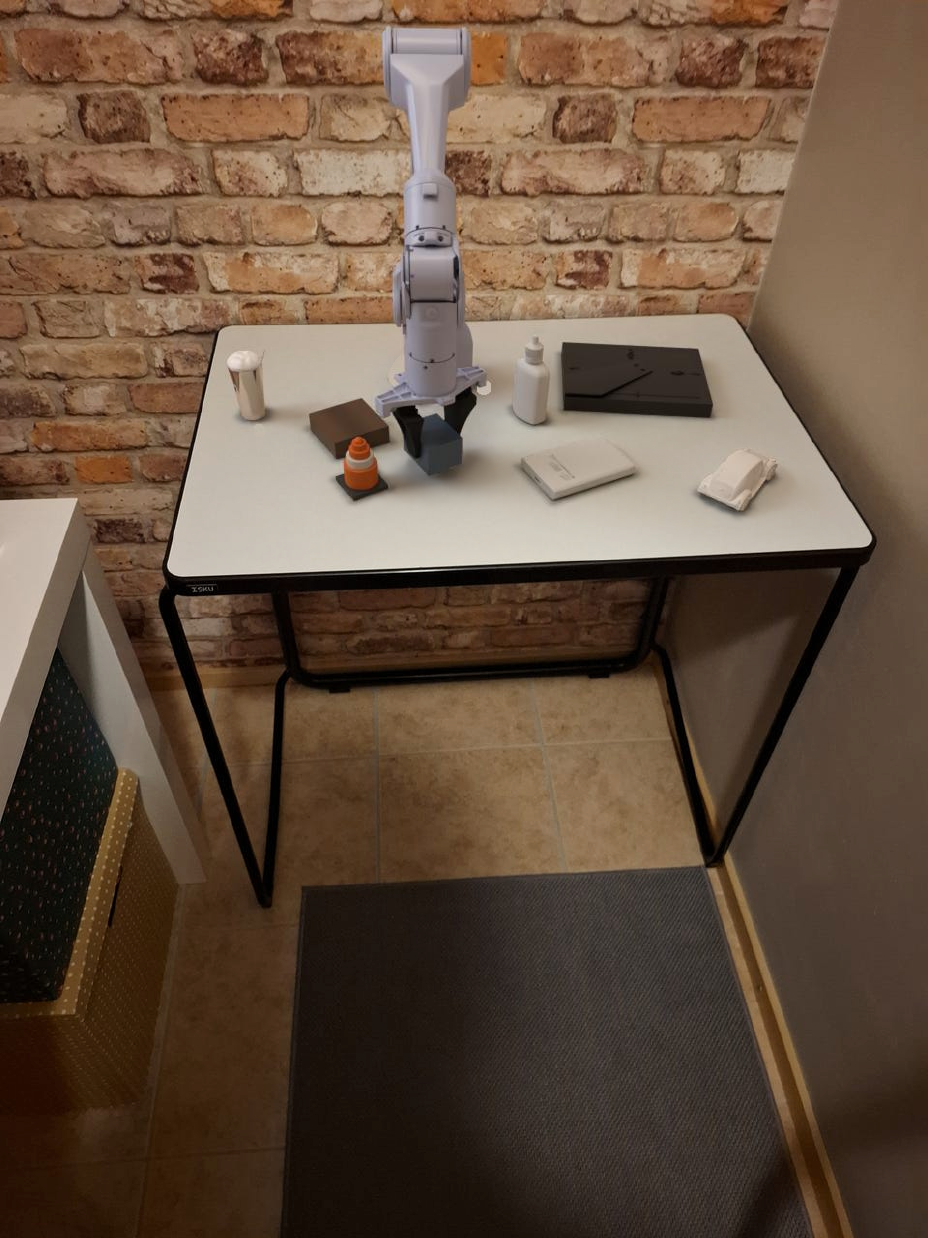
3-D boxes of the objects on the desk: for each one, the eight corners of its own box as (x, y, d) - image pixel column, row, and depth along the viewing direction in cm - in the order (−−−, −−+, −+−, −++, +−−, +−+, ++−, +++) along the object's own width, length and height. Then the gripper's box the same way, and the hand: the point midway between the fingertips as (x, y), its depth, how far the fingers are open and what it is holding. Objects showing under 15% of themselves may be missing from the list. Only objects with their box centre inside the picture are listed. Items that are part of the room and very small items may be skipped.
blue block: (436, 438, 113) (436, 412, 110) (462, 464, 109) (463, 437, 107) (403, 449, 111) (402, 423, 108) (428, 476, 108) (428, 449, 105)
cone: (370, 468, 111) (367, 421, 106) (388, 488, 108) (386, 441, 103) (335, 479, 109) (330, 433, 104) (353, 500, 106) (349, 454, 101)
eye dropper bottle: (541, 403, 123) (549, 325, 114) (546, 425, 119) (554, 346, 110) (511, 404, 122) (516, 325, 114) (515, 426, 119) (521, 346, 110)
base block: (362, 413, 120) (361, 397, 118) (389, 441, 115) (389, 425, 114) (310, 429, 117) (308, 413, 115) (336, 459, 112) (334, 443, 111)
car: (736, 518, 106) (746, 487, 102) (692, 497, 108) (700, 467, 105) (780, 474, 112) (790, 444, 109) (737, 455, 115) (746, 426, 111)
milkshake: (269, 426, 117) (257, 359, 110) (232, 421, 118) (218, 354, 111) (280, 408, 120) (270, 342, 113) (244, 403, 121) (232, 337, 114)
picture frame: (563, 409, 122) (709, 417, 121) (565, 392, 120) (714, 399, 119) (561, 354, 132) (695, 360, 132) (562, 337, 130) (699, 343, 130)
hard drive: (634, 475, 111) (553, 501, 107) (598, 442, 116) (520, 466, 112) (636, 465, 110) (554, 491, 106) (600, 432, 115) (521, 456, 111)
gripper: (393, 382, 94) (397, 481, 104) (502, 349, 100) (497, 447, 110) (364, 354, 99) (370, 452, 108) (470, 324, 104) (467, 420, 114)
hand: (432, 447), depth 109 cm, fingers closed on blue block, 5 cm apart
